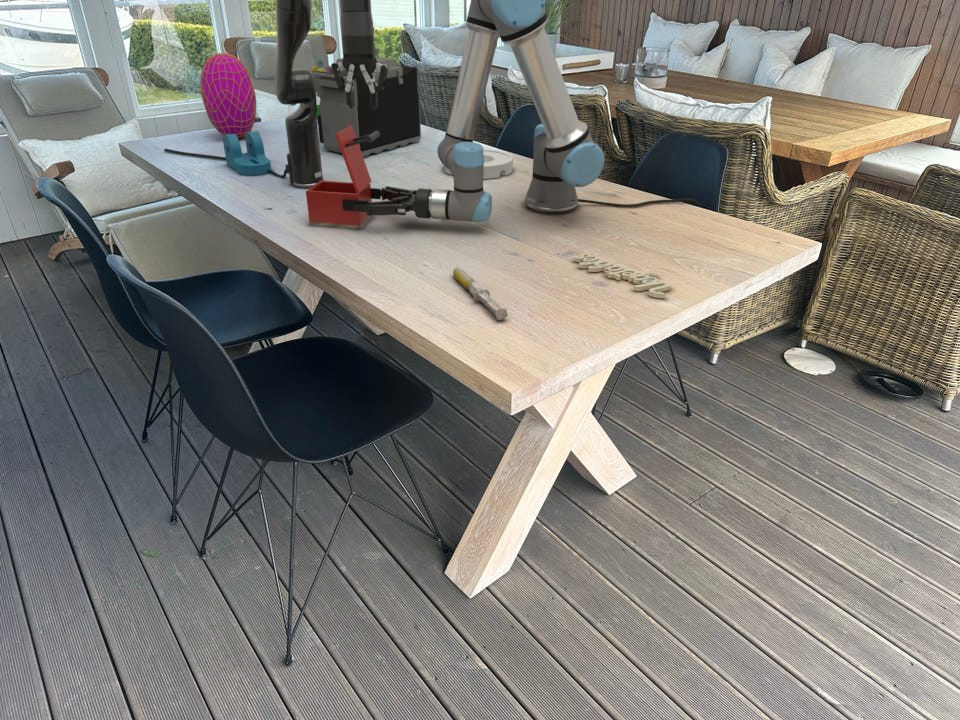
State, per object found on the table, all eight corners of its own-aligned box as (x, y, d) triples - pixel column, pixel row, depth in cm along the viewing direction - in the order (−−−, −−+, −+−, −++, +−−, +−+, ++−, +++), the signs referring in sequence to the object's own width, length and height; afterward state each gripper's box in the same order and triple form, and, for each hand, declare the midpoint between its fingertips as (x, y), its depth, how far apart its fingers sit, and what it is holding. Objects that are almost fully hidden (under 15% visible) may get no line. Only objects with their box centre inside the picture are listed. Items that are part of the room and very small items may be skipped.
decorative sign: (686, 282, 150) (660, 295, 144) (686, 286, 150) (659, 300, 144) (592, 249, 166) (565, 259, 160) (592, 253, 167) (565, 263, 161)
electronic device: (383, 133, 276) (378, 52, 261) (425, 141, 265) (422, 56, 250) (314, 150, 251) (304, 61, 235) (358, 160, 240) (350, 67, 224)
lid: (335, 134, 168) (364, 126, 166) (349, 126, 177) (377, 118, 175) (356, 193, 175) (385, 186, 173) (369, 182, 184) (396, 175, 181)
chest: (309, 225, 182) (305, 191, 177) (323, 213, 191) (320, 180, 186) (360, 229, 180) (357, 194, 175) (372, 217, 189) (370, 183, 184)
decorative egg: (226, 145, 255) (211, 58, 240) (200, 137, 266) (184, 53, 251) (271, 137, 268) (259, 54, 252) (244, 129, 279) (231, 49, 263)
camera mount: (227, 164, 233) (221, 132, 227) (257, 160, 238) (252, 129, 233) (244, 176, 220) (239, 143, 215) (276, 172, 225) (271, 139, 220)
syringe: (449, 274, 155) (449, 263, 153) (465, 272, 156) (464, 260, 154) (490, 323, 135) (491, 310, 133) (508, 319, 136) (508, 307, 134)
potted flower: (318, 124, 289) (311, 60, 276) (313, 121, 295) (306, 58, 282) (340, 122, 293) (334, 59, 280) (334, 119, 298) (328, 56, 286)
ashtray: (446, 160, 241) (446, 148, 239) (512, 161, 241) (512, 149, 239) (441, 178, 221) (440, 165, 219) (512, 179, 221) (513, 167, 219)
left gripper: (322, 32, 158) (329, 110, 167) (382, 34, 156) (386, 113, 165) (334, 29, 165) (340, 104, 173) (391, 31, 163) (395, 107, 171)
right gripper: (421, 232, 170) (336, 226, 174) (442, 204, 190) (365, 199, 193) (420, 203, 167) (333, 197, 170) (441, 177, 186) (363, 172, 189)
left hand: (362, 108), depth 169 cm, fingers open, 5 cm apart
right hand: (350, 198), depth 182 cm, fingers closed on chest, 10 cm apart
